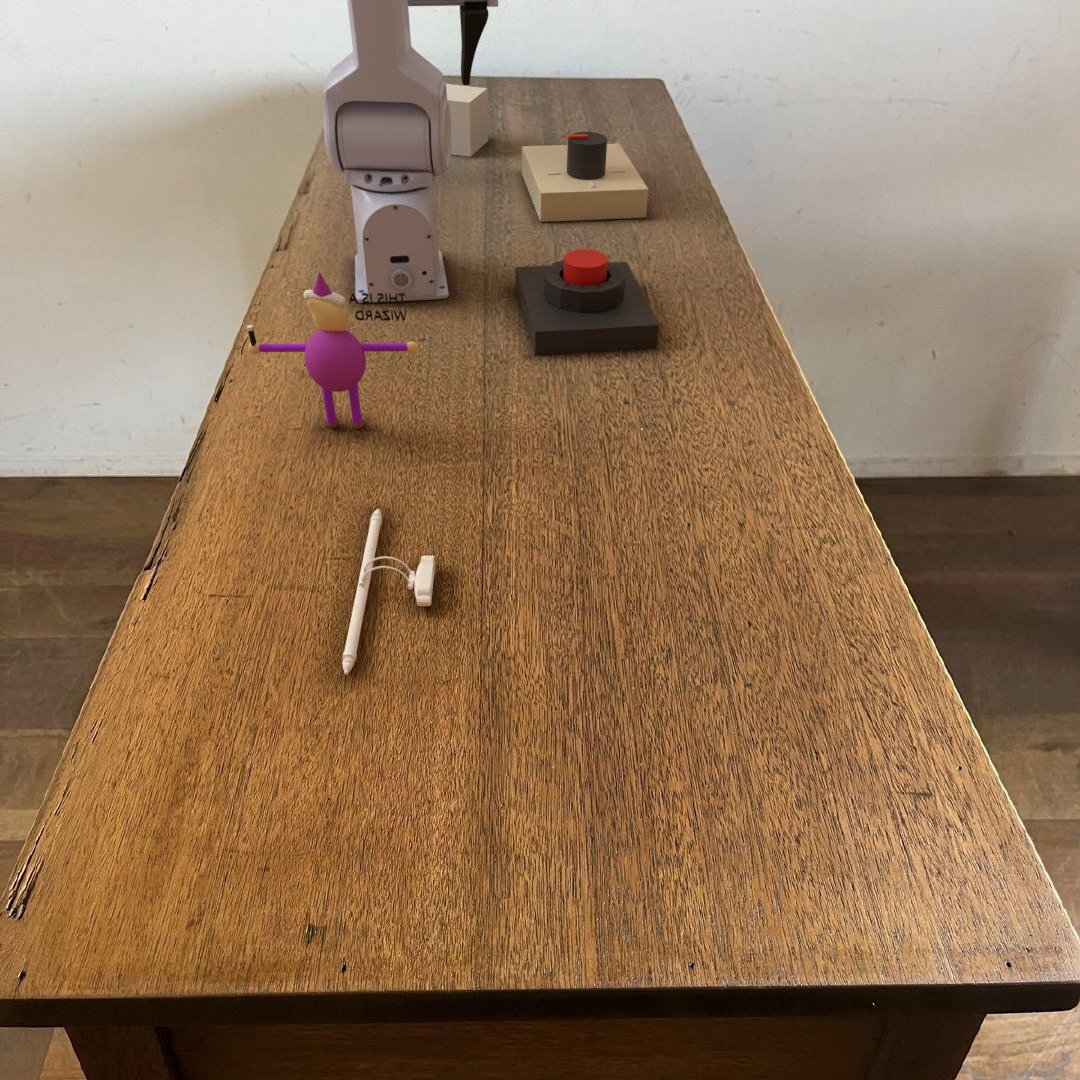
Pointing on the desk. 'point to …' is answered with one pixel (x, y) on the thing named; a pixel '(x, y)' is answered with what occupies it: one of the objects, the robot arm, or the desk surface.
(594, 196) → the panel
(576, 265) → the power button
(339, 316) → the wizard figurine
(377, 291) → the robot arm
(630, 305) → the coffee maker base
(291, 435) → the desk surface
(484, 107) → the beige cube
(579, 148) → the warmer dial
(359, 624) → the picture light
